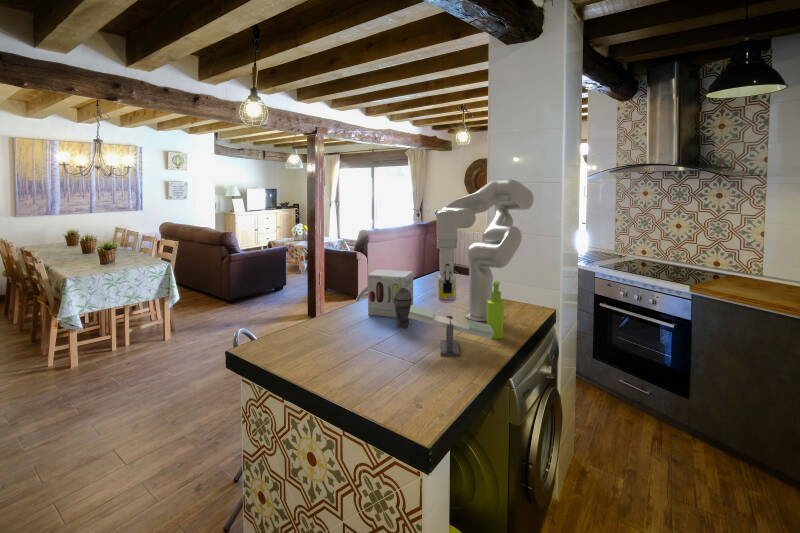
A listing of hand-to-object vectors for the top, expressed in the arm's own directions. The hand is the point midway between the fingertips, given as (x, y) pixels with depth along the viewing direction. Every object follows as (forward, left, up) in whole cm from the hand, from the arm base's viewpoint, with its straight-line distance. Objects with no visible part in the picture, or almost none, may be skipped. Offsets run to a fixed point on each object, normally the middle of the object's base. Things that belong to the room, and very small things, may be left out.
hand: (447, 290), depth 155 cm
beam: (+11, +16, -7) cm, 20 cm away
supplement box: (+8, -31, -16) cm, 36 cm away
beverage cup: (+13, -12, -16) cm, 24 cm away
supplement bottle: (0, 0, -4) cm, 4 cm away
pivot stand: (+11, +16, -16) cm, 25 cm away
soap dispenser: (-11, +14, -16) cm, 24 cm away
